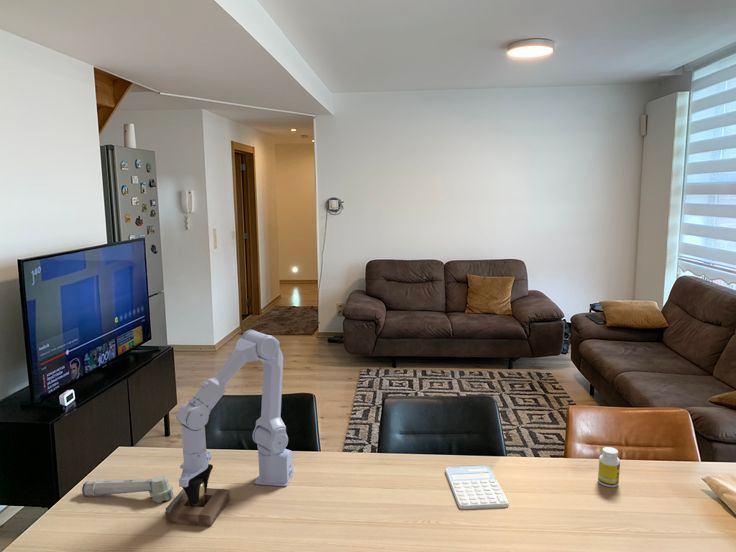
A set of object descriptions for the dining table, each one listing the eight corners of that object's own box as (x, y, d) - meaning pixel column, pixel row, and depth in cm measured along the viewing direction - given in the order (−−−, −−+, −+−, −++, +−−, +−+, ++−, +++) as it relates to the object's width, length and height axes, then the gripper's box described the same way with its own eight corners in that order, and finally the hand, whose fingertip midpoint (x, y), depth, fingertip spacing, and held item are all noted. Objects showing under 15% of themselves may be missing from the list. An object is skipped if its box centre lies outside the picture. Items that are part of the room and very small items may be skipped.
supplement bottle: (619, 489, 151) (621, 455, 150) (598, 486, 153) (600, 453, 151) (617, 479, 156) (619, 447, 155) (597, 476, 158) (598, 444, 156)
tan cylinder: (208, 501, 145) (206, 480, 144) (200, 510, 141) (199, 488, 140) (194, 500, 146) (192, 479, 145) (186, 508, 142) (184, 487, 141)
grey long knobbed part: (90, 476, 155) (173, 469, 151) (95, 498, 156) (178, 491, 152) (78, 486, 150) (164, 479, 146) (84, 509, 151) (169, 502, 147)
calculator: (459, 511, 143) (459, 504, 143) (444, 472, 163) (444, 466, 162) (510, 509, 144) (510, 502, 143) (489, 469, 163) (489, 464, 163)
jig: (229, 499, 149) (228, 486, 148) (211, 526, 137) (209, 511, 137) (188, 496, 151) (187, 483, 150) (165, 523, 139) (164, 508, 138)
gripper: (192, 435, 149) (196, 482, 151) (165, 462, 135) (169, 513, 137) (217, 437, 148) (220, 483, 150) (192, 463, 134) (196, 515, 136)
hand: (198, 498), depth 143 cm, fingers closed on tan cylinder, 4 cm apart
